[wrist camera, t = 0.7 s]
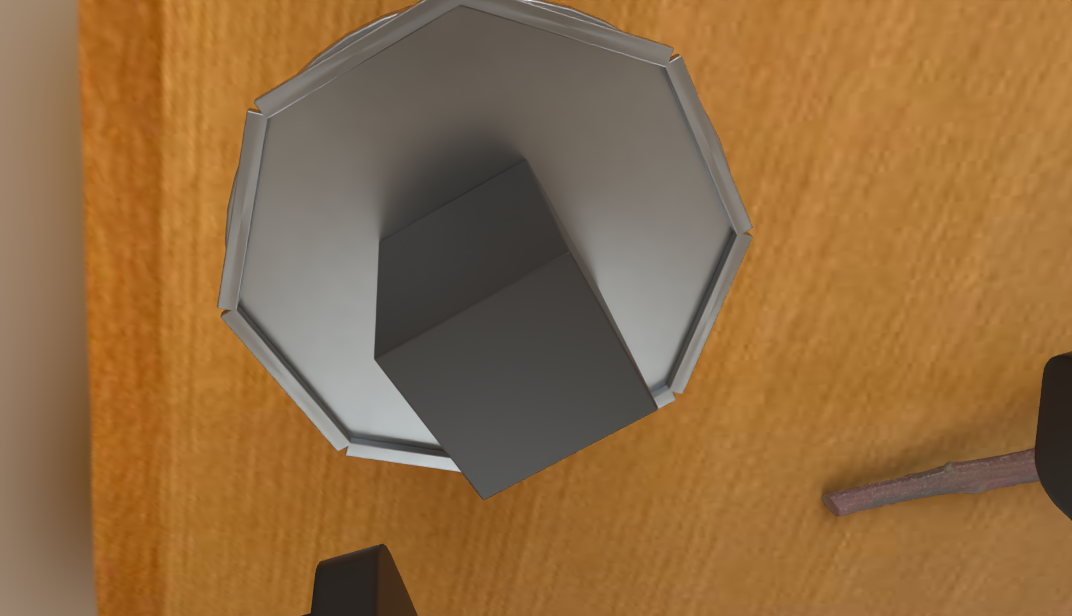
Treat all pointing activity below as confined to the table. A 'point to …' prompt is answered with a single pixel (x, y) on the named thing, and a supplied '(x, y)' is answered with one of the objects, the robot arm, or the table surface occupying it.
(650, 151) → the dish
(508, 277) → the block
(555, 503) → the table surface
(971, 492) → the natural artifact
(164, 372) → the table surface
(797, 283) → the table surface
